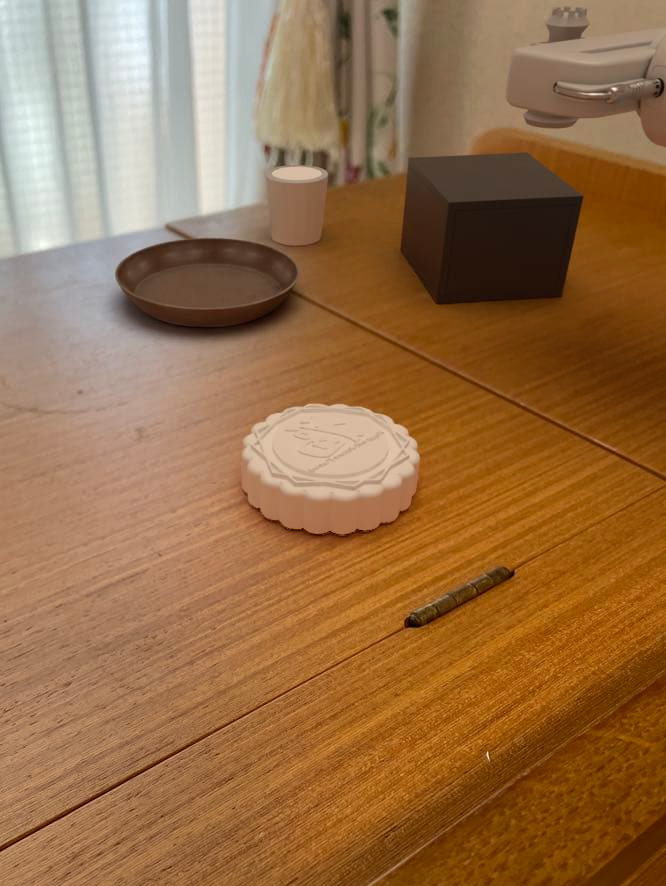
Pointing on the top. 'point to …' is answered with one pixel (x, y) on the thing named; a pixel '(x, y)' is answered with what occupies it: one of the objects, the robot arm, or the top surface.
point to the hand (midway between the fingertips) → (553, 51)
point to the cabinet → (488, 227)
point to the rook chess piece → (560, 29)
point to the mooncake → (330, 468)
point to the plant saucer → (207, 280)
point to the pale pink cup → (296, 203)
